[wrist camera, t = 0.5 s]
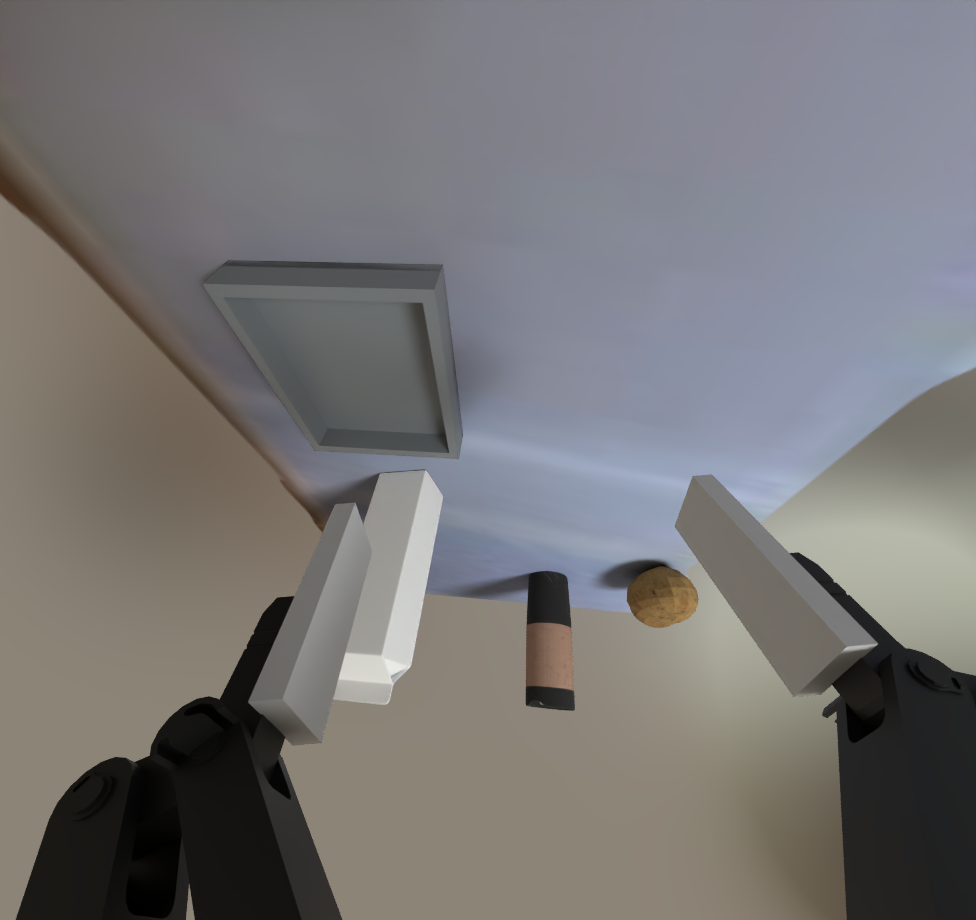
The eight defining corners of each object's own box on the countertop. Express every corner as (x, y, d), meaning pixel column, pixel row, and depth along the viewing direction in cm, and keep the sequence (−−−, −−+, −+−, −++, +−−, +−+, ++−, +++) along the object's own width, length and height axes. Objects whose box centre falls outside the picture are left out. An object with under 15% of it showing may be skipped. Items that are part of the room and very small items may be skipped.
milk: (379, 472, 41) (303, 695, 28) (426, 468, 40) (369, 702, 27) (401, 498, 46) (345, 701, 33) (444, 496, 45) (403, 707, 31)
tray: (228, 260, 22) (201, 283, 21) (442, 264, 22) (434, 289, 20) (325, 427, 35) (314, 450, 34) (463, 434, 34) (458, 459, 33)
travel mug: (563, 586, 69) (568, 710, 57) (524, 582, 69) (521, 705, 57) (573, 573, 62) (581, 710, 51) (530, 568, 63) (528, 704, 51)
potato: (708, 556, 52) (725, 613, 47) (669, 585, 63) (680, 634, 59) (641, 551, 53) (651, 607, 48) (614, 581, 64) (621, 628, 59)
